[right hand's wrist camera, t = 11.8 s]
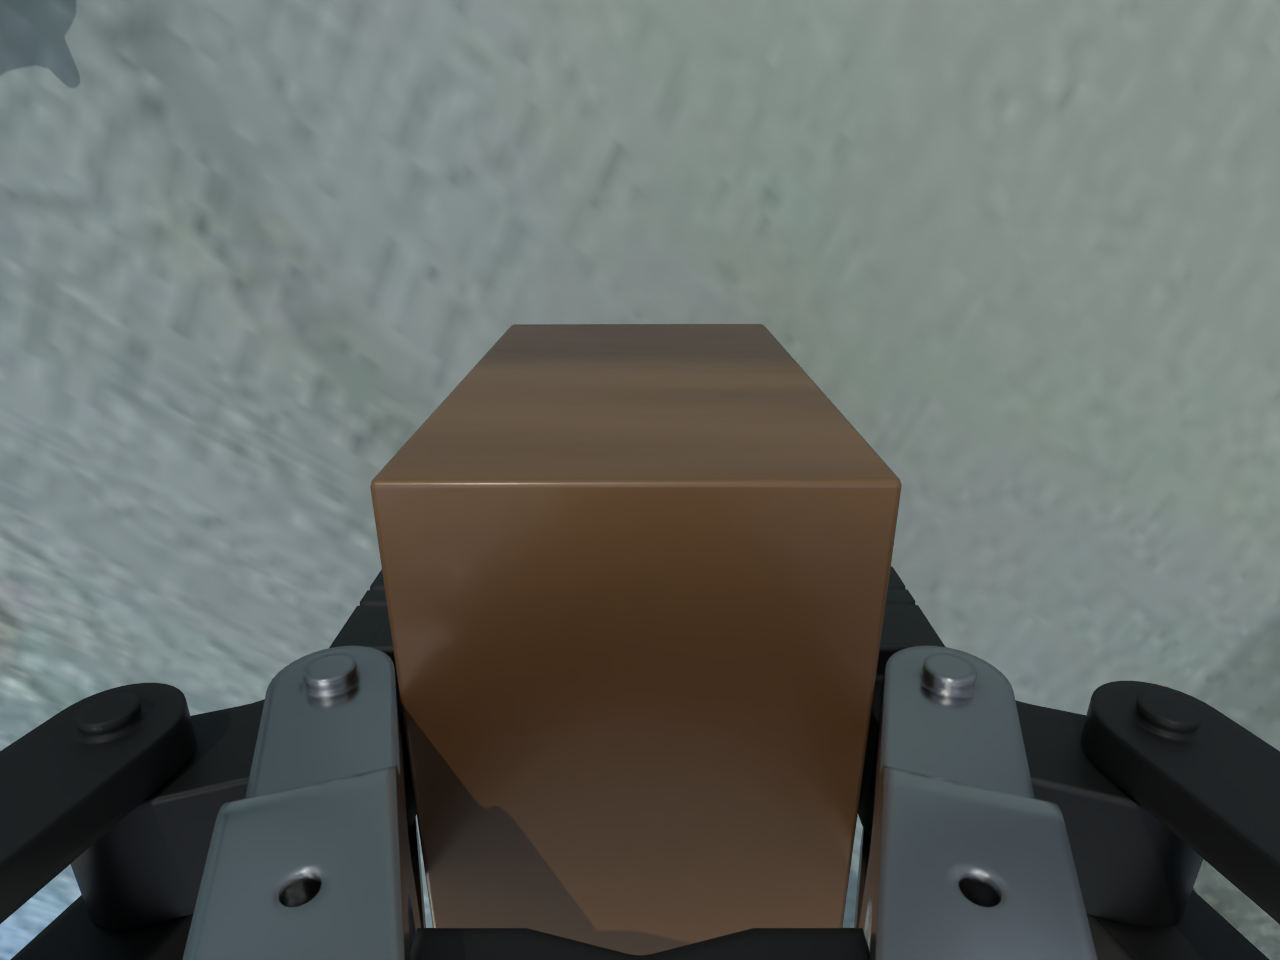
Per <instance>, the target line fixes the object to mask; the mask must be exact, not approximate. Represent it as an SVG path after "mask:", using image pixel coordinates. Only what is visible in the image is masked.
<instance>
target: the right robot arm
mask: <svg viewBox="0 0 1280 960" xmlns="http://www.w3.org/2000/svg"><path fill="white" fill-rule="evenodd" d="M416 814H417V812H416V804H415V797H414V790H413V783H412V776H411V769H410V762H409V755H408V748H407V741H406V734H405V727H404V720H403V713H402V706H401V699H400V692H399V685H398V678H397V671H396V663H395V656H394V649H393V642H392V635H391V628H390V621H389V614H388V607H387V600H386V593H385V586H384V579H383V572H382V570H381V571H380V573H379V574H378V576H377V577H376V579H375V580H374V582H373V583H372V585H371V586H370V590H368V591H367V592H366V594H365V595H364V597H363V598H362V600H361V601H360V606H357V607H356V609H355V610H354V612H353V613H352V615H351V616H350V618H349V619H348V621H347V622H346V624H345V625H344V627H343V628H342V630H341V631H340V633H339V634H338V636H337V637H336V639H335V640H334V642H333V643H332V645H331V646H330V648H329V649H324V650H321V651H317V652H314V653H312V654H309V655H306V656H304V657H302V658H300V659H298V660H296V661H294V662H292V663H291V664H289V665H288V666H286V667H285V668H284V669H282V670H281V671H280V672H279V673H278V674H277V675H276V676H275V677H274V678H273V679H272V681H271V682H270V684H269V686H268V689H267V692H266V697H265V700H261V701H258V702H255V703H252V704H247V705H243V706H239V707H234V708H229V709H224V710H219V711H214V712H208V713H203V714H198V715H193V716H190V713H189V710H188V706H187V702H186V699H185V696H184V694H183V693H182V692H181V691H180V690H179V689H177V688H175V687H173V686H170V685H167V684H161V683H139V684H131V685H126V686H121V687H117V688H113V689H109V690H106V691H103V692H100V693H97V694H95V695H92V696H90V697H87V698H85V699H83V700H81V701H79V702H77V703H75V704H73V705H71V706H69V707H68V708H66V709H64V710H63V711H61V712H60V713H58V714H56V715H55V716H53V717H52V718H50V719H49V720H47V721H46V722H44V723H43V724H41V725H40V726H38V727H37V728H35V729H34V730H32V731H31V732H29V733H28V734H26V735H25V736H23V737H22V738H20V739H19V740H17V741H15V742H14V743H12V744H11V745H9V746H8V747H6V748H5V749H3V750H2V751H0V924H1V923H2V922H3V921H4V920H6V919H7V918H8V917H9V916H10V915H11V914H13V913H14V912H15V911H16V910H17V909H18V908H20V907H21V906H22V905H23V904H24V903H25V902H27V901H28V900H29V899H30V898H31V897H32V896H34V895H35V894H36V893H37V892H38V891H39V890H41V889H42V888H43V887H44V886H45V885H46V884H48V883H49V882H50V881H51V880H52V879H53V878H55V877H56V876H57V875H58V874H59V873H60V872H62V871H63V870H64V869H65V868H66V867H67V866H68V865H70V864H71V867H72V869H73V872H74V875H75V878H76V880H77V883H78V886H79V888H80V891H81V894H82V895H81V896H80V897H79V898H78V899H77V900H76V901H75V902H73V903H72V904H71V905H70V906H69V907H68V908H67V909H66V910H65V911H64V912H62V913H61V914H60V915H59V916H58V917H57V918H56V919H55V920H54V921H53V922H51V923H50V924H49V925H48V926H47V927H46V928H45V929H44V930H43V931H42V932H41V933H39V934H38V935H37V936H36V937H35V938H34V939H33V940H32V941H31V942H30V943H28V944H27V945H26V946H25V947H24V948H23V949H22V950H21V951H20V952H19V953H17V954H16V955H15V956H14V957H13V958H12V959H11V960H1269V959H1268V958H1267V957H1266V956H1265V955H1264V954H1263V953H1261V952H1260V951H1259V950H1258V949H1257V948H1256V947H1255V946H1254V945H1253V944H1252V943H1250V942H1249V941H1248V940H1247V939H1246V938H1245V937H1244V936H1243V935H1242V934H1241V933H1239V932H1238V931H1237V930H1236V929H1235V928H1234V927H1233V926H1232V925H1231V924H1230V923H1228V922H1227V921H1226V920H1225V919H1224V918H1223V917H1222V916H1221V915H1220V914H1219V913H1218V912H1216V911H1215V910H1214V909H1213V908H1212V907H1211V906H1210V905H1209V904H1208V903H1207V902H1205V901H1204V900H1203V899H1202V898H1201V897H1200V896H1199V895H1198V894H1197V893H1196V891H1195V890H1194V888H1193V886H1194V883H1195V880H1196V877H1197V875H1198V872H1199V869H1200V866H1201V864H1202V861H1203V859H1204V860H1206V861H1207V862H1208V863H1209V864H1210V865H1211V866H1213V867H1214V868H1215V869H1216V870H1217V871H1218V872H1220V873H1221V874H1222V875H1223V876H1224V877H1225V878H1227V879H1228V880H1229V881H1230V882H1231V883H1232V884H1234V885H1235V886H1236V887H1237V888H1238V889H1239V890H1241V891H1242V892H1243V893H1244V894H1245V895H1246V896H1248V897H1249V898H1250V899H1251V900H1252V901H1253V902H1255V903H1256V904H1257V905H1258V906H1259V907H1260V908H1262V909H1263V910H1264V911H1265V912H1266V913H1267V914H1269V915H1270V916H1271V917H1272V918H1273V919H1274V920H1276V921H1277V922H1278V923H1279V924H1280V751H1278V750H1277V749H1275V748H1274V747H1272V746H1271V745H1269V744H1268V743H1266V742H1265V741H1263V740H1261V739H1260V738H1258V737H1257V736H1255V735H1254V734H1252V733H1251V732H1249V731H1248V730H1246V729H1245V728H1243V727H1242V726H1240V725H1239V724H1237V723H1236V722H1234V721H1233V720H1231V719H1230V718H1228V717H1227V716H1225V715H1223V714H1222V713H1220V712H1219V711H1217V710H1216V709H1214V708H1213V707H1211V706H1209V705H1208V704H1206V703H1204V702H1202V701H1200V700H1198V699H1196V698H1194V697H1192V696H1190V695H1187V694H1185V693H1182V692H1180V691H1177V690H1174V689H1171V688H1168V687H1164V686H1160V685H1156V684H1151V683H1146V682H1138V681H1117V682H1110V683H1107V684H1104V685H1102V686H1100V687H1098V688H1097V689H1096V690H1095V691H1094V692H1093V695H1092V697H1091V701H1090V705H1089V708H1088V712H1087V716H1086V715H1081V714H1076V713H1071V712H1066V711H1061V710H1056V709H1051V708H1046V707H1041V706H1036V705H1031V704H1027V703H1023V702H1019V701H1016V700H1015V697H1014V692H1013V689H1012V686H1011V684H1010V682H1009V681H1008V679H1007V678H1006V677H1005V676H1004V675H1003V674H1002V673H1001V672H1000V671H999V670H998V669H996V668H995V667H994V666H992V665H991V664H989V663H988V662H986V661H984V660H982V659H980V658H978V657H976V656H974V655H971V654H968V653H966V652H963V651H959V650H956V649H951V648H946V647H945V646H944V644H943V643H942V641H941V640H940V638H939V637H938V635H937V634H936V632H935V631H934V629H933V628H932V626H931V625H930V623H929V621H928V620H927V618H926V617H925V615H924V614H923V612H922V611H921V609H920V608H919V606H918V605H915V600H914V599H913V597H912V596H911V594H910V593H909V591H908V590H905V585H904V584H903V582H902V580H901V579H900V577H899V576H898V574H897V573H896V571H895V570H894V568H893V567H890V575H889V582H888V590H887V597H886V605H885V612H884V619H883V627H882V634H881V642H880V649H879V657H878V664H877V672H876V679H875V687H874V694H873V702H872V709H871V716H870V724H869V731H868V739H867V746H866V754H865V761H864V769H863V776H862V784H861V791H860V799H859V806H858V815H859V817H860V820H861V823H862V825H863V831H862V838H861V846H860V859H859V872H858V884H857V897H856V910H855V923H854V928H752V929H748V930H744V931H740V932H736V933H732V934H728V935H724V936H720V937H716V938H712V939H709V940H705V941H701V942H697V943H693V944H689V945H685V946H681V947H677V948H673V949H669V950H665V951H661V952H658V953H654V954H648V955H632V954H626V953H622V952H619V951H615V950H611V949H607V948H603V947H599V946H595V945H591V944H587V943H583V942H579V941H575V940H571V939H568V938H564V937H560V936H556V935H552V934H548V933H544V932H540V931H536V930H532V929H528V928H426V923H425V910H424V897H423V885H422V872H421V859H420V846H419V839H418V831H417V824H416Z"/></svg>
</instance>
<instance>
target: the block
mask: <svg viewBox="0 0 1280 960" xmlns="http://www.w3.org/2000/svg"><path fill="white" fill-rule="evenodd" d="M370 487H371V494H372V501H373V508H374V515H375V522H376V529H377V537H378V544H379V551H380V558H381V565H382V572H383V579H384V586H385V593H386V600H387V607H388V614H389V621H390V628H391V635H392V642H393V649H394V656H395V663H396V671H397V678H398V685H399V692H400V699H401V706H402V713H403V720H404V727H405V734H406V741H407V748H408V755H409V762H410V769H411V776H412V783H413V790H414V797H415V804H416V812H417V819H418V826H419V833H420V840H421V847H422V854H423V861H424V868H425V875H426V882H427V889H428V896H429V903H430V910H431V917H432V924H433V928H528V929H532V930H536V931H540V932H544V933H548V934H552V935H556V936H560V937H564V938H568V939H571V940H575V941H579V942H583V943H587V944H591V945H595V946H599V947H603V948H607V949H611V950H615V951H619V952H622V953H626V954H632V955H648V954H654V953H658V952H661V951H665V950H669V949H673V948H677V947H681V946H685V945H689V944H693V943H697V942H701V941H705V940H709V939H712V938H716V937H720V936H724V935H728V934H732V933H736V932H740V931H744V930H748V929H752V928H842V925H843V918H844V910H845V903H846V896H847V888H848V881H849V873H850V866H851V858H852V851H853V843H854V836H855V828H856V821H857V813H858V806H859V799H860V791H861V784H862V776H863V769H864V761H865V754H866V746H867V739H868V731H869V724H870V716H871V709H872V702H873V694H874V687H875V679H876V672H877V664H878V657H879V649H880V642H881V634H882V627H883V619H884V612H885V605H886V597H887V590H888V582H889V575H890V567H891V560H892V552H893V545H894V537H895V530H896V522H897V515H898V507H899V500H900V493H901V482H900V479H899V478H898V477H897V476H896V475H895V474H894V473H893V471H892V470H891V469H890V468H889V467H888V466H887V465H886V463H885V462H884V461H883V460H882V459H881V458H880V457H879V455H878V454H877V453H876V452H875V451H874V450H873V449H872V448H871V446H870V445H869V444H868V443H867V442H866V441H865V440H864V438H863V437H862V436H861V435H860V434H859V433H858V432H857V430H856V429H855V428H854V427H853V426H852V425H851V424H850V423H849V421H848V420H847V419H846V418H845V417H844V416H843V415H842V413H841V412H840V411H839V410H838V409H837V408H836V407H835V405H834V404H833V403H832V402H831V401H830V400H829V399H828V398H827V396H826V395H825V394H824V393H823V392H822V391H821V390H820V388H819V387H818V386H817V385H816V384H815V383H814V382H813V380H812V379H811V378H810V377H809V376H808V375H807V374H806V373H805V371H804V370H803V369H802V368H801V367H800V366H799V365H798V363H797V362H796V361H795V360H794V359H793V358H792V357H791V355H790V354H789V353H788V352H787V351H786V350H785V349H784V348H783V346H782V345H781V344H780V343H779V342H778V341H777V340H776V338H775V337H774V336H773V335H772V334H771V333H770V332H769V330H768V329H767V328H766V327H765V326H764V325H762V324H577V325H512V326H511V327H510V328H509V329H508V330H507V331H506V332H505V334H504V335H503V336H502V337H501V338H500V339H499V340H498V341H497V342H496V344H495V345H494V346H493V347H492V348H491V349H490V350H489V351H488V352H487V353H486V355H485V356H484V357H483V358H482V359H481V360H480V361H479V362H478V363H477V365H476V366H475V367H474V368H473V369H472V370H471V371H470V372H469V373H468V375H467V376H466V377H465V378H464V379H463V380H462V381H461V382H460V383H459V385H458V386H457V387H456V388H455V389H454V390H453V391H452V392H451V393H450V395H449V396H448V397H447V398H446V399H445V400H444V401H443V402H442V403H441V405H440V406H439V407H438V408H437V409H436V410H435V411H434V412H433V413H432V415H431V416H430V417H429V418H428V419H427V420H426V421H425V422H424V423H423V425H422V426H421V427H420V428H419V429H418V430H417V431H416V432H415V433H414V435H413V436H412V437H411V438H410V439H409V440H408V441H407V442H406V443H405V445H404V446H403V447H402V448H401V449H400V450H399V451H398V452H397V453H396V455H395V456H394V457H393V458H392V459H391V460H390V461H389V462H388V463H387V465H386V466H385V467H384V468H383V469H382V470H381V471H380V472H379V473H378V475H377V476H376V477H375V478H374V479H373V480H372V482H371V486H370Z"/></svg>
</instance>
